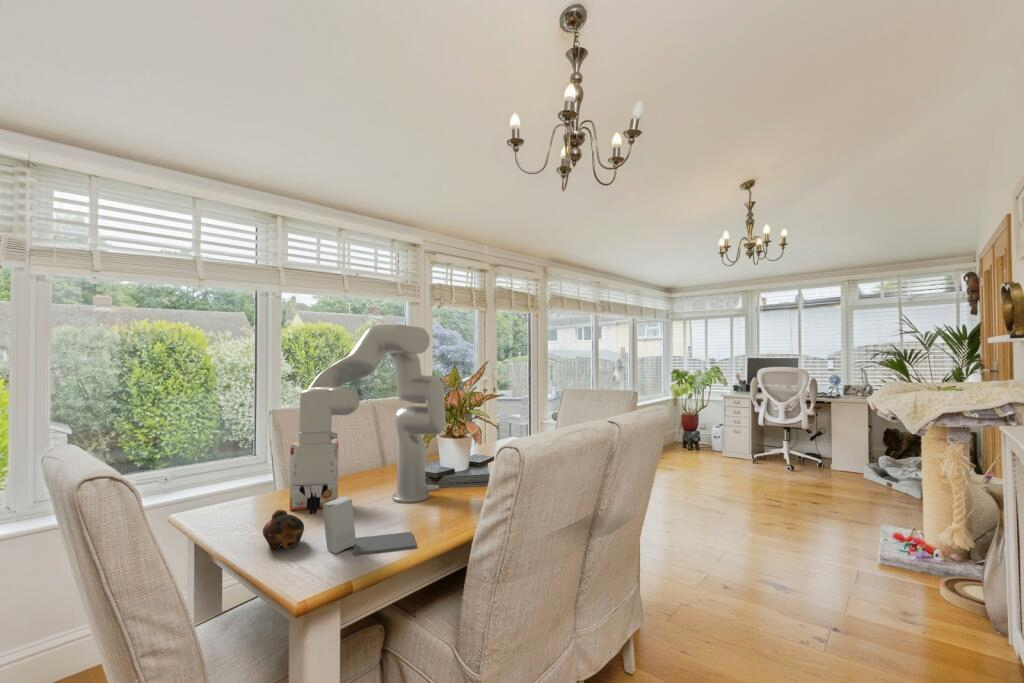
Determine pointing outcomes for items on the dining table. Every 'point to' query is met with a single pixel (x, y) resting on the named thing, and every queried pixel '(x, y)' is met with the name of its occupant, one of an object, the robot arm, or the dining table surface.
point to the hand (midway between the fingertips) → (313, 512)
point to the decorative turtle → (283, 530)
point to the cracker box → (300, 500)
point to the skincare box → (339, 524)
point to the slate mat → (384, 543)
